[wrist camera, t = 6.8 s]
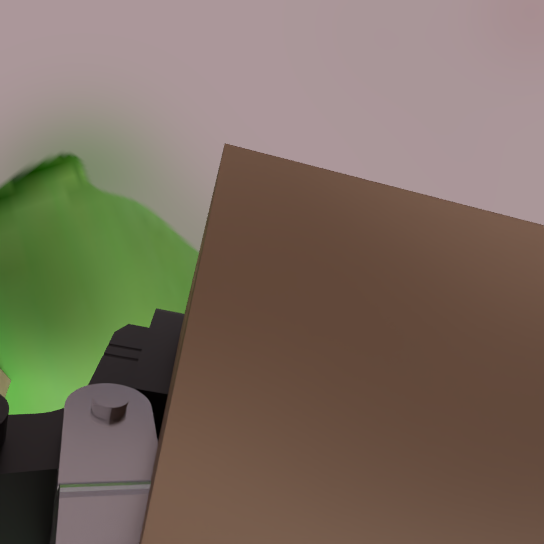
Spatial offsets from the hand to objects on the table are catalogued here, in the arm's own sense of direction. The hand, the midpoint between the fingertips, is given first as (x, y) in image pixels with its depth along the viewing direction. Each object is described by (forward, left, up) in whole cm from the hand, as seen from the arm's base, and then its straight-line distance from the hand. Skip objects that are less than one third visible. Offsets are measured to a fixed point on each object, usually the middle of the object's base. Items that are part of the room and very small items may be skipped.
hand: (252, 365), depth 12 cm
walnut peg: (+1, +2, -7) cm, 7 cm away
